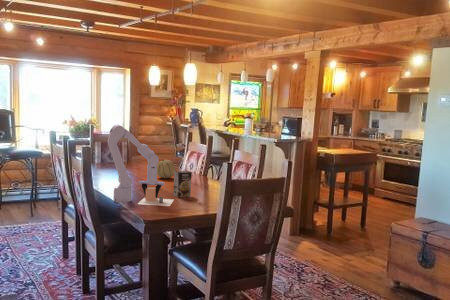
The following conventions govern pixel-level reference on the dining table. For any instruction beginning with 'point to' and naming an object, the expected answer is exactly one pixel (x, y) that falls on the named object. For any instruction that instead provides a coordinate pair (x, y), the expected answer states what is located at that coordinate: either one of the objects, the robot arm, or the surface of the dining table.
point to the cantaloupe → (165, 169)
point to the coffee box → (182, 183)
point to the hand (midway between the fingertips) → (151, 197)
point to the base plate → (156, 202)
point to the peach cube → (150, 194)
